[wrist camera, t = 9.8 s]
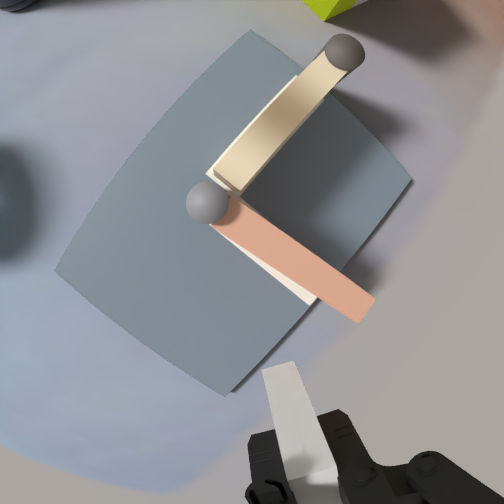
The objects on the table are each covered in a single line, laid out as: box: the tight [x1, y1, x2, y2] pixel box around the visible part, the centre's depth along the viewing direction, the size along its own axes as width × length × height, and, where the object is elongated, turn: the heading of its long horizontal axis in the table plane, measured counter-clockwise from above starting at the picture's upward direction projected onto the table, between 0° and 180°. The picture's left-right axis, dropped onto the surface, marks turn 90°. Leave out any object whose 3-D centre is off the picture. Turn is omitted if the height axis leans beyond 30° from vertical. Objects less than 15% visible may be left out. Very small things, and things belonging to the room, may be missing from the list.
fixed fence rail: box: [213, 34, 365, 192], centre depth 16 cm, size 10×2×7 cm, turn 140°
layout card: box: [54, 30, 412, 397], centre depth 21 cm, size 22×16×1 cm
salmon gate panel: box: [186, 181, 376, 324], centre depth 17 cm, size 11×2×7 cm, turn 55°
